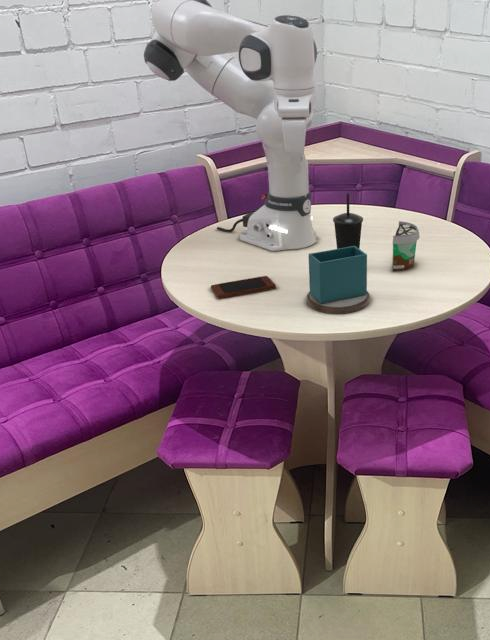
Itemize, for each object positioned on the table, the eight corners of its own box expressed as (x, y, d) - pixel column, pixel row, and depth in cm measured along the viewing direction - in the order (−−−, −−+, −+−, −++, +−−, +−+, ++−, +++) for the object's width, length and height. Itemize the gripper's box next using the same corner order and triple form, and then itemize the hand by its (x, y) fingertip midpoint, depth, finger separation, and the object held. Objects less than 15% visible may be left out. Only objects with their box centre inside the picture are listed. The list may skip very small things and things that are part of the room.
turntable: (294, 305, 177) (294, 299, 176) (328, 283, 188) (328, 277, 187) (349, 319, 170) (349, 313, 170) (380, 295, 181) (380, 289, 180)
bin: (366, 294, 178) (367, 254, 173) (320, 303, 174) (319, 263, 169) (354, 284, 183) (354, 245, 178) (309, 293, 179) (308, 253, 174)
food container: (415, 275, 192) (417, 237, 187) (391, 273, 193) (392, 236, 188) (420, 257, 202) (422, 221, 197) (398, 256, 203) (399, 220, 198)
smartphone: (276, 284, 185) (217, 295, 180) (276, 288, 185) (217, 298, 180) (267, 274, 190) (209, 284, 186) (267, 278, 191) (210, 288, 186)
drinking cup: (348, 261, 201) (347, 187, 190) (368, 269, 196) (369, 193, 186) (327, 269, 196) (326, 194, 186) (348, 277, 191) (348, 200, 181)
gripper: (282, 92, 168) (285, 155, 175) (277, 110, 150) (280, 179, 157) (310, 92, 168) (312, 155, 175) (308, 110, 150) (310, 179, 157)
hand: (297, 166), depth 166 cm, fingers open, 8 cm apart
